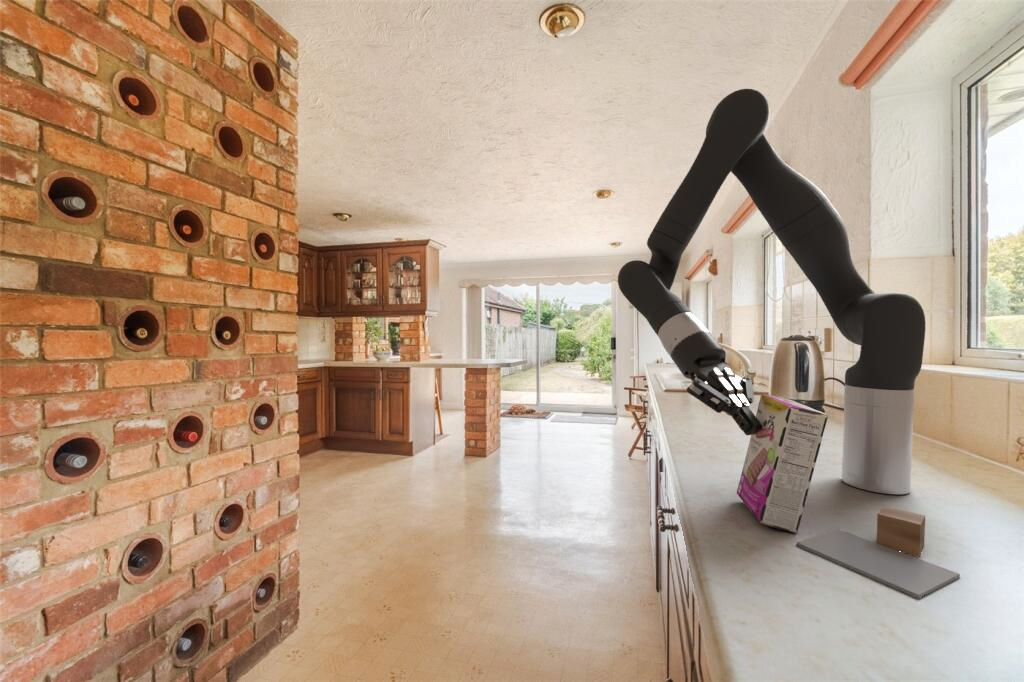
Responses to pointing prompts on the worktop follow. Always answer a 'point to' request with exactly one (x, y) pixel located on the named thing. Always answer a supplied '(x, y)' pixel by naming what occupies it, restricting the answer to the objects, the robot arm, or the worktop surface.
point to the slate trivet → (879, 562)
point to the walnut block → (901, 530)
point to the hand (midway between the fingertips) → (755, 431)
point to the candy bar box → (781, 461)
